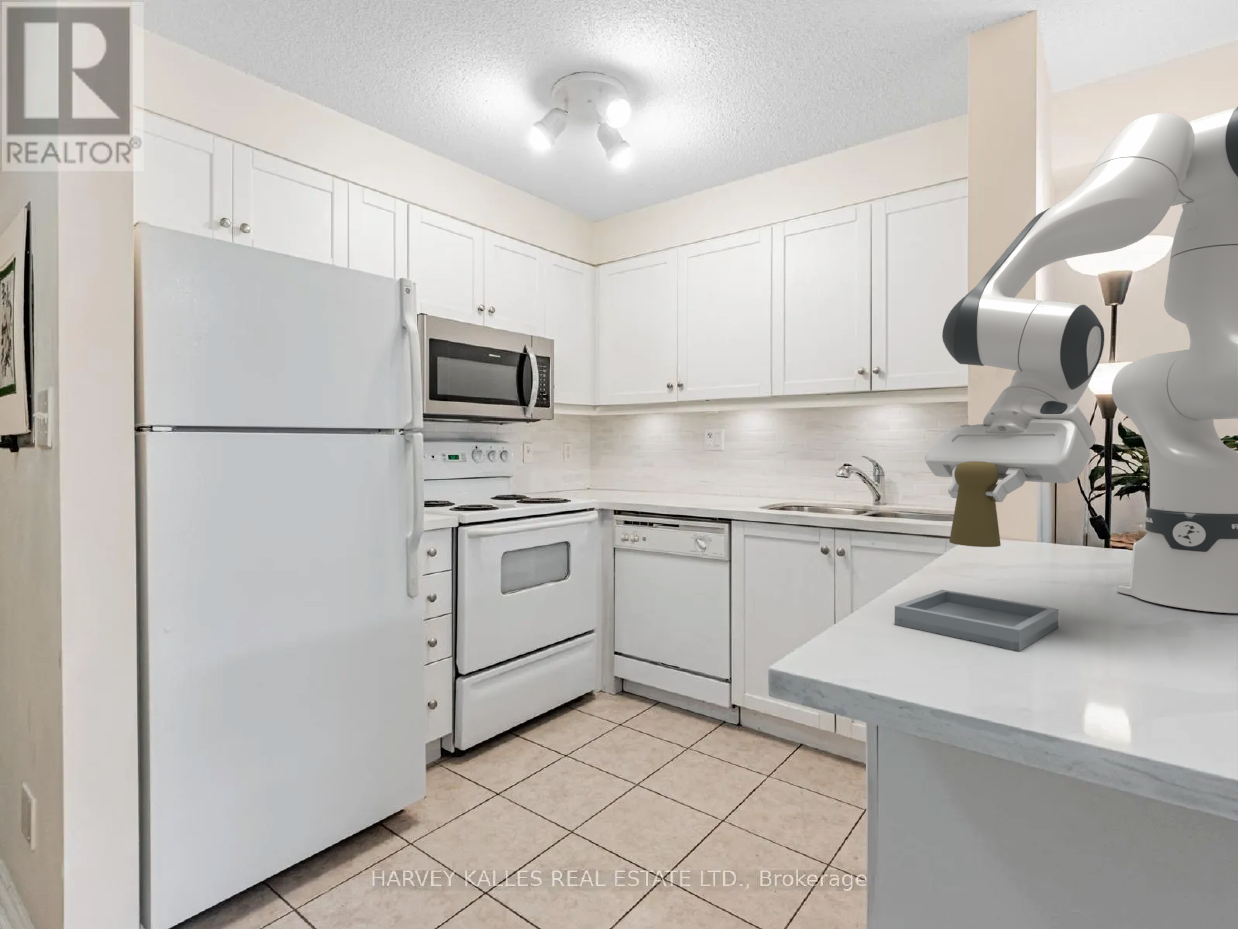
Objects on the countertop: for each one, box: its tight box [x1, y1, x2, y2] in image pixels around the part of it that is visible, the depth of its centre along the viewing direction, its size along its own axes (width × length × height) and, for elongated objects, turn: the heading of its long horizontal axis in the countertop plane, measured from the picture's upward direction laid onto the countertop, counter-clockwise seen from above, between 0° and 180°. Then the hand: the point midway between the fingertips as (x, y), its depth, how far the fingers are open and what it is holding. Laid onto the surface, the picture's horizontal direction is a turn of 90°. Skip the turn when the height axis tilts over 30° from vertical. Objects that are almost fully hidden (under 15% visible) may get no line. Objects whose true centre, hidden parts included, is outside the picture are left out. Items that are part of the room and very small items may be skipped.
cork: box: [948, 461, 1002, 548], centre depth 87 cm, size 6×6×11 cm
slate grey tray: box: [894, 589, 1060, 652], centre depth 87 cm, size 15×15×2 cm
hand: (973, 497), depth 86 cm, fingers closed on cork, 4 cm apart
